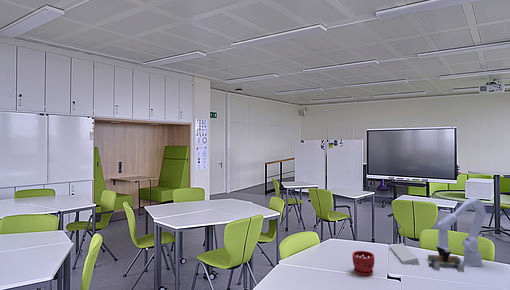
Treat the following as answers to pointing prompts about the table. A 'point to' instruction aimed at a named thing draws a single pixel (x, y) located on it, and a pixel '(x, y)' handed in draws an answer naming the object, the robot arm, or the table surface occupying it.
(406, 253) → the decorative molding
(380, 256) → the table surface
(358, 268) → the plant pot
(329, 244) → the table surface
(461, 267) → the standards
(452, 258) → the rail
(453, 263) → the mat
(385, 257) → the table surface
